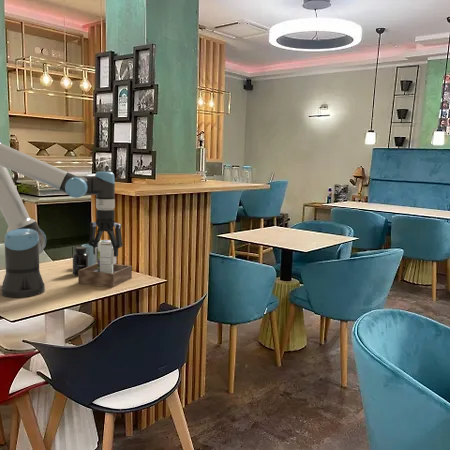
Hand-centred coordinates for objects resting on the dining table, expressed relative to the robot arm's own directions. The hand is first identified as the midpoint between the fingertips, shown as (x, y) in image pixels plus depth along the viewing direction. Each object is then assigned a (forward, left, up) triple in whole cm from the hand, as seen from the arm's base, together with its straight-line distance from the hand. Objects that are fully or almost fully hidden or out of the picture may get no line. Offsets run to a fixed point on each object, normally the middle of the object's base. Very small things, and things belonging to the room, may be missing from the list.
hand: (105, 263), depth 190 cm
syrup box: (0, 0, -5) cm, 5 cm away
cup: (-20, +20, -8) cm, 29 cm away
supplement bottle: (-16, +6, -8) cm, 19 cm away
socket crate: (0, 0, -8) cm, 8 cm away
